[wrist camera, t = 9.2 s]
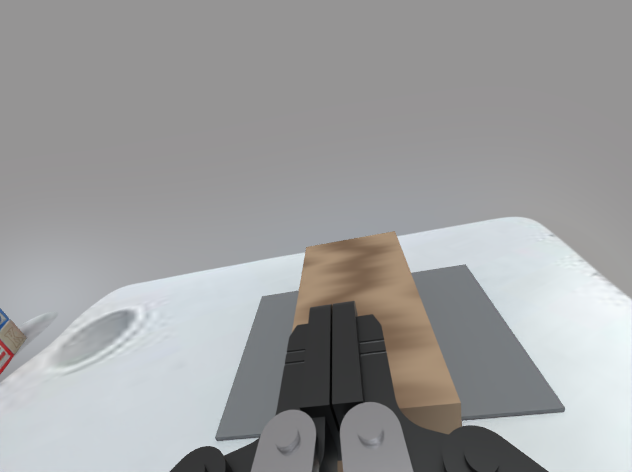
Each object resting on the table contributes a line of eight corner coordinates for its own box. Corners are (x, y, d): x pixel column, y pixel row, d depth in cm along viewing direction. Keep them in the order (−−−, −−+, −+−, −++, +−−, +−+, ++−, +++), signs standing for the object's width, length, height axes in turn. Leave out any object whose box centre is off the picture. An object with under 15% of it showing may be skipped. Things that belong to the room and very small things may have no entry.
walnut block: (277, 419, 14) (306, 247, 28) (303, 477, 16) (318, 290, 30) (460, 402, 13) (394, 231, 27) (463, 468, 15) (400, 277, 29)
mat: (216, 440, 19) (215, 437, 19) (263, 298, 32) (262, 296, 32) (564, 411, 16) (565, 407, 16) (465, 267, 29) (465, 264, 29)
